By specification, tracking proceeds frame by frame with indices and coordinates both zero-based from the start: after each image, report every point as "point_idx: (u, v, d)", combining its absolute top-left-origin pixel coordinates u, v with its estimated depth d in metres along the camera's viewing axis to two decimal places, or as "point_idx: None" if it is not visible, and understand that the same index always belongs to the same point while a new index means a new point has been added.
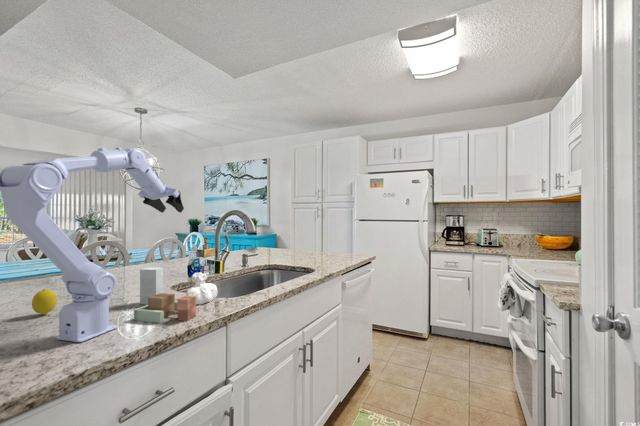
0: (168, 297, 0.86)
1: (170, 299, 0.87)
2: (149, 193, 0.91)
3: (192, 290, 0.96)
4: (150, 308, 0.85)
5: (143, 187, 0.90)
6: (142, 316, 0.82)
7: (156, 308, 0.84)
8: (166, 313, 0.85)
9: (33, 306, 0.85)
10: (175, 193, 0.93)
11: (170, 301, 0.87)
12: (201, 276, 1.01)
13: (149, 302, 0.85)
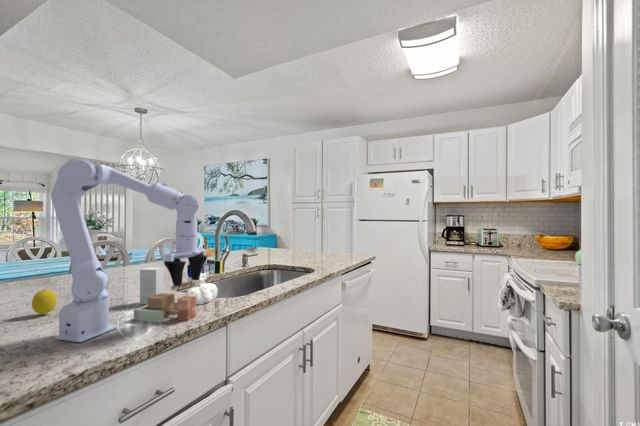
0: (168, 297, 0.86)
1: (170, 299, 0.87)
2: None
3: (192, 290, 0.96)
4: (150, 308, 0.85)
5: None
6: (142, 316, 0.82)
7: (156, 308, 0.84)
8: (166, 313, 0.85)
9: (33, 306, 0.85)
10: (166, 256, 0.78)
11: (170, 301, 0.87)
12: (201, 276, 1.01)
13: (149, 302, 0.85)
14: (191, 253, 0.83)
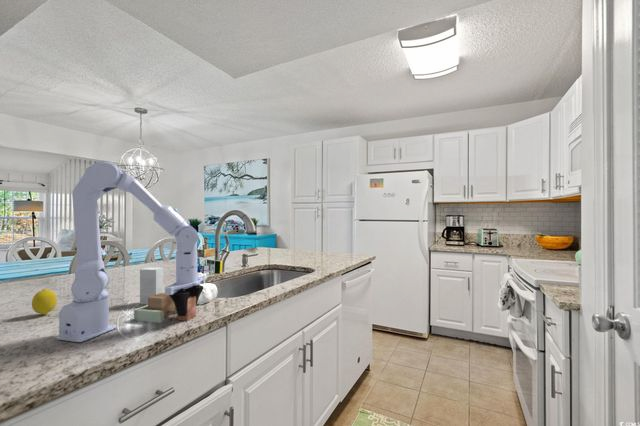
0: (168, 297, 0.86)
1: (170, 299, 0.87)
2: None
3: None
4: (150, 308, 0.85)
5: None
6: (142, 316, 0.82)
7: (156, 308, 0.84)
8: (166, 313, 0.85)
9: (33, 306, 0.85)
10: (166, 289, 0.78)
11: (170, 301, 0.87)
12: (201, 276, 1.01)
13: (149, 302, 0.85)
14: (191, 284, 0.82)
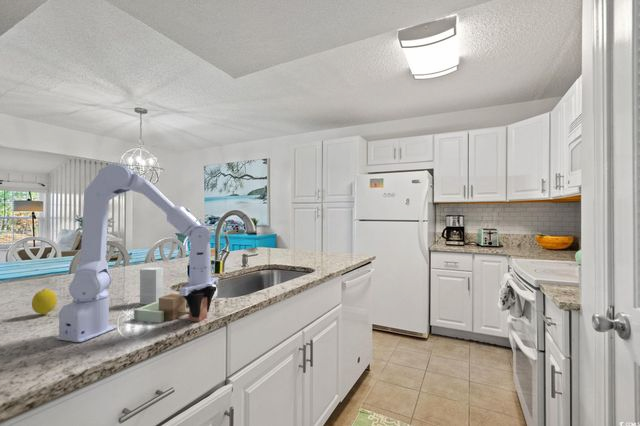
0: (179, 298, 0.85)
1: (181, 300, 0.86)
2: None
3: None
4: (161, 309, 0.84)
5: None
6: (142, 316, 0.82)
7: (167, 309, 0.83)
8: (177, 314, 0.84)
9: (33, 306, 0.85)
10: (180, 290, 0.76)
11: (181, 302, 0.86)
12: None
13: (160, 303, 0.84)
14: (205, 285, 0.81)
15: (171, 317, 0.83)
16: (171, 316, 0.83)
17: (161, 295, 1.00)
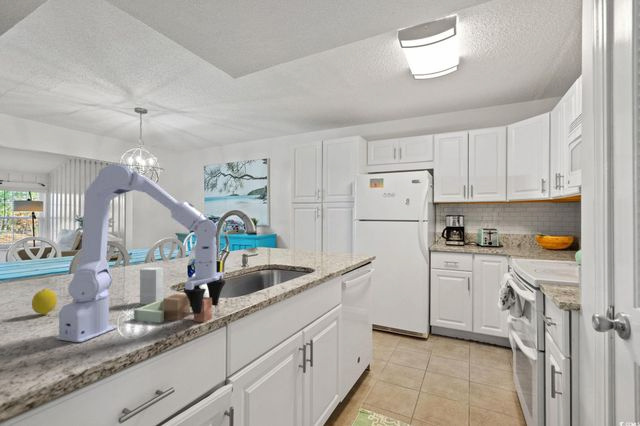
0: (184, 298, 0.85)
1: (185, 300, 0.85)
2: None
3: None
4: (166, 309, 0.83)
5: None
6: (142, 316, 0.82)
7: (172, 309, 0.83)
8: (182, 314, 0.84)
9: (33, 306, 0.85)
10: (186, 284, 0.76)
11: (185, 302, 0.85)
12: None
13: (165, 303, 0.83)
14: (211, 279, 0.81)
15: (175, 318, 0.82)
16: (176, 317, 0.82)
17: (161, 295, 1.00)
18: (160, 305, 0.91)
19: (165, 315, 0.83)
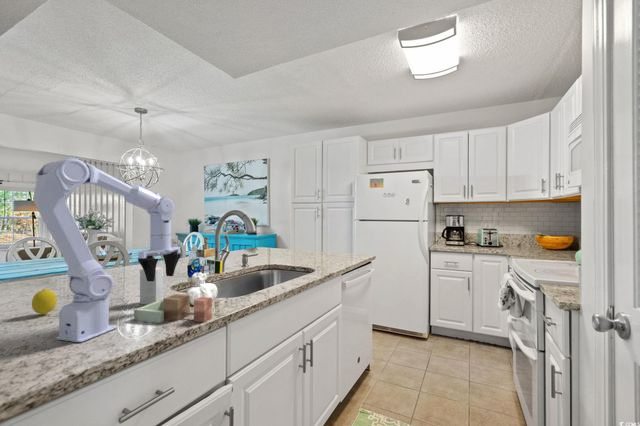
0: (184, 298, 0.85)
1: (185, 300, 0.85)
2: None
3: (192, 290, 0.96)
4: (166, 309, 0.83)
5: None
6: (142, 316, 0.82)
7: (172, 309, 0.83)
8: (182, 314, 0.84)
9: (33, 306, 0.85)
10: (139, 253, 0.84)
11: (185, 302, 0.85)
12: (201, 276, 1.01)
13: (165, 303, 0.83)
14: (164, 251, 0.88)
15: (175, 318, 0.82)
16: (176, 317, 0.82)
17: (161, 295, 1.00)
18: (160, 305, 0.91)
19: (165, 315, 0.83)
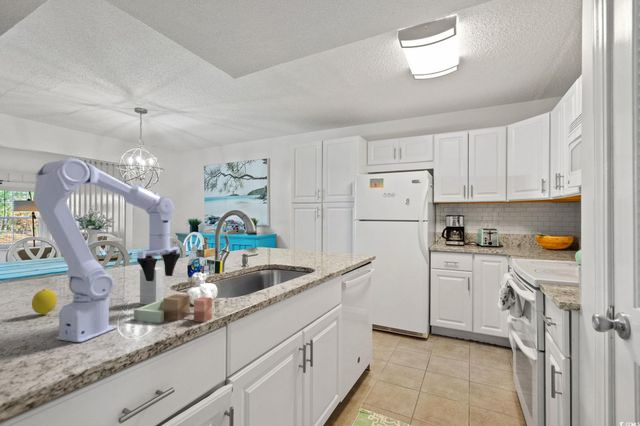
0: (184, 298, 0.85)
1: (185, 300, 0.85)
2: None
3: (192, 290, 0.96)
4: (166, 309, 0.83)
5: None
6: (142, 316, 0.82)
7: (172, 309, 0.83)
8: (182, 314, 0.84)
9: (33, 306, 0.85)
10: (138, 253, 0.84)
11: (185, 302, 0.85)
12: (201, 276, 1.01)
13: (165, 303, 0.83)
14: (163, 251, 0.89)
15: (175, 318, 0.82)
16: (176, 317, 0.82)
17: (161, 295, 1.00)
18: (160, 305, 0.91)
19: (165, 315, 0.83)
